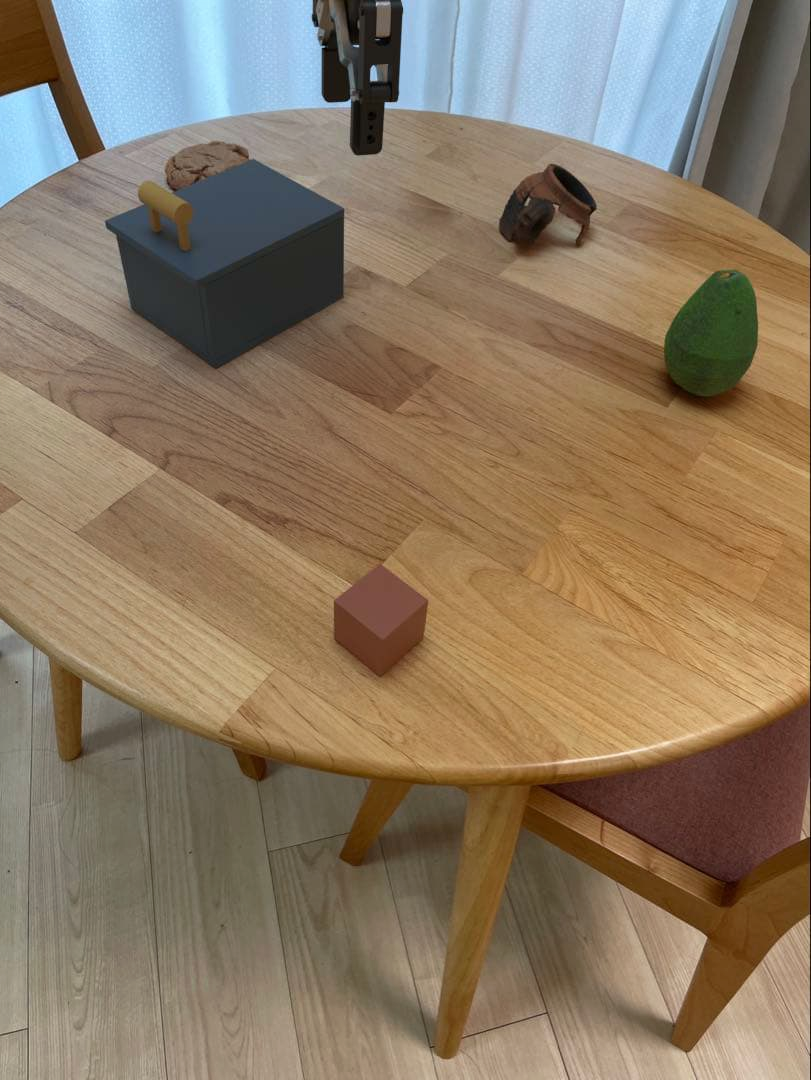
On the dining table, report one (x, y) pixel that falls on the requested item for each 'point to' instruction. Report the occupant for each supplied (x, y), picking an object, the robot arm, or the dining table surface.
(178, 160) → the cookie
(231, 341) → the chest
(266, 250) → the lid
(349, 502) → the dining table surface
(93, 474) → the dining table surface
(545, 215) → the pottery mug
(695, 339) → the avocado
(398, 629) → the block
